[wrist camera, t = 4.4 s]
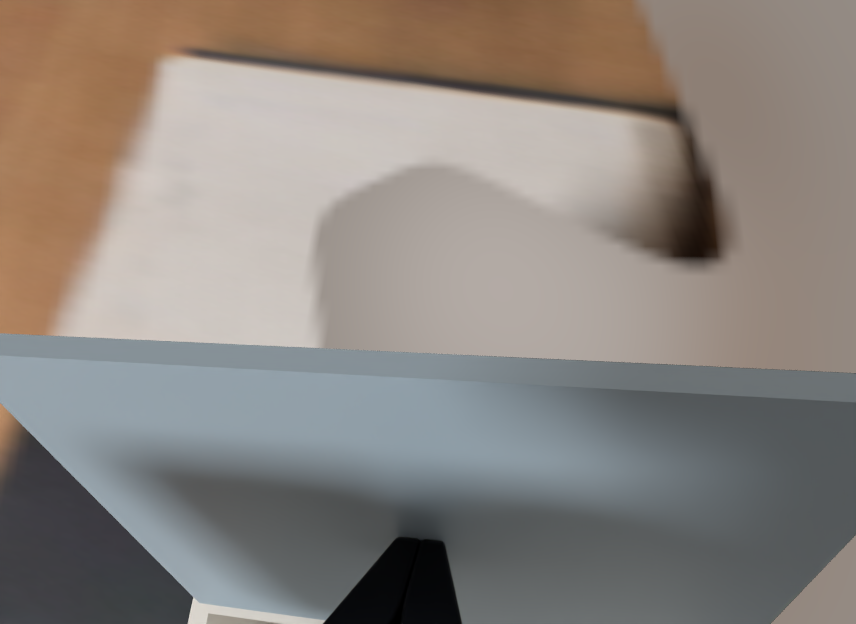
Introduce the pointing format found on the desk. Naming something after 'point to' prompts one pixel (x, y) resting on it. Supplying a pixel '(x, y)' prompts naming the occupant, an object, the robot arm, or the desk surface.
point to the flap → (454, 473)
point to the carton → (240, 616)
